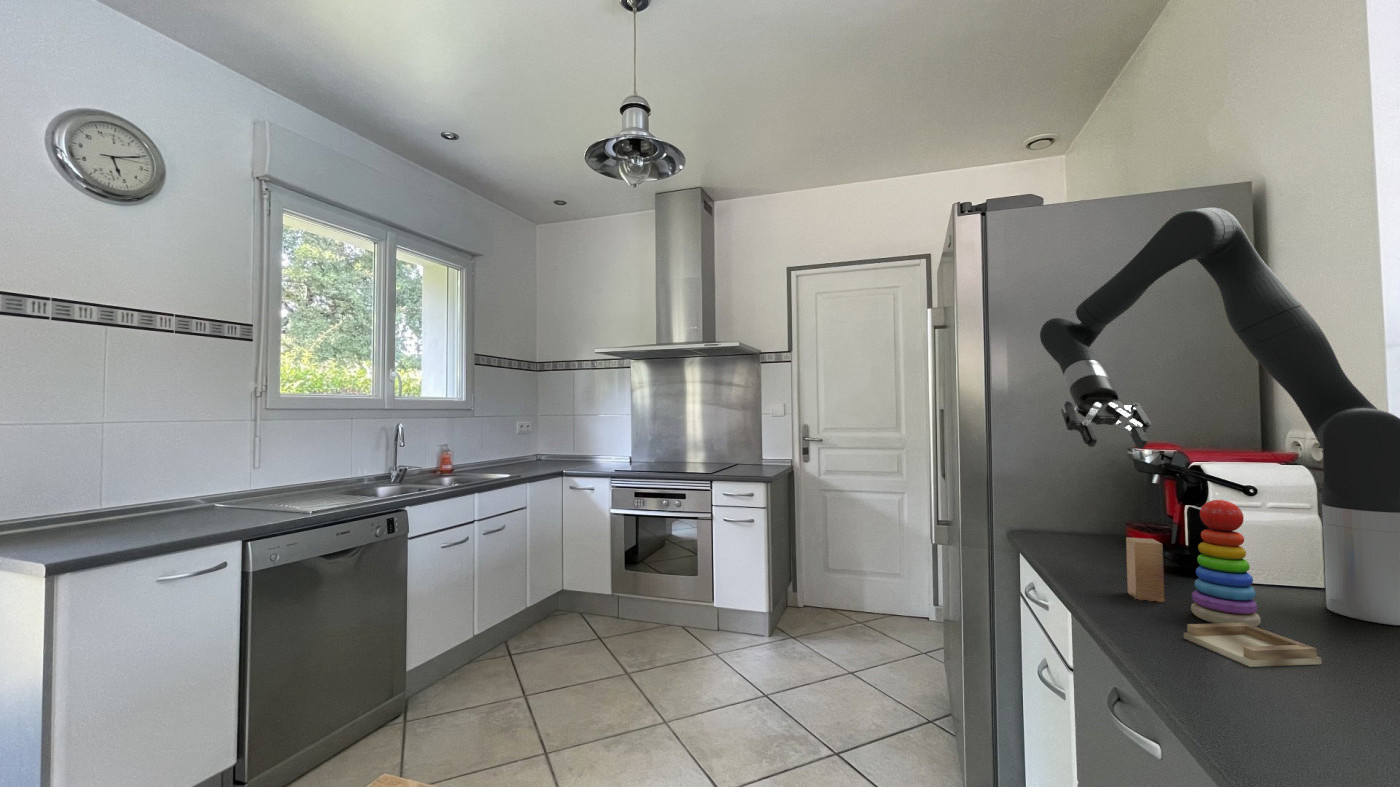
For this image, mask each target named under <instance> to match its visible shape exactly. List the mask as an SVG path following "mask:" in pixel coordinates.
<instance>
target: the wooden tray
mask: <svg viewBox="0 0 1400 787" xmlns="http://www.w3.org/2000/svg"><path fill="white" fill-rule="evenodd" d="M1186 625H1187V626H1186V628H1187V631H1186V632H1183V639H1184V640H1187V641H1189V642H1191V643H1193V644H1196V645H1198V646H1201V647H1203V648H1205V649H1207V650H1210V651H1213V652H1215V653H1217V654H1219V655H1222V656H1223V657H1226V658H1229V659H1231V660H1233V661H1235V662H1237V663H1240V664H1242V665H1245V666H1248V667H1250V668H1253V667H1255V668H1256V667H1257V668H1259V667H1281V666H1283V667H1284V666H1287V667H1288V666H1308V665H1314V666H1315V665H1322V657H1320V656H1318V652H1317V650H1318V649H1317V648H1316V647H1313V646H1310V645H1308V644H1305V643H1302V642H1299V641H1296V640H1294V639H1291V638H1288V637H1286V636H1282V635H1280V634H1277V633H1275V632H1271V631H1269V630H1266V629H1263V628H1260V627H1258V626H1256V627H1255V626H1252V625H1250V624H1247V623H1196V624H1195V623H1188V624H1186Z"/></svg>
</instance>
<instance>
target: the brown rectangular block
mask: <svg viewBox="0 0 1400 787" xmlns="http://www.w3.org/2000/svg"><path fill="white" fill-rule="evenodd" d="M1125 542H1126V544H1125V546H1126V547H1125V548H1126V571H1127V572H1126V578H1127V594H1128V595H1129V596H1131V597H1132V596H1133V597H1134V598H1133V597H1132V598H1133V599H1134V600H1136V599H1138V600H1137V601H1143V600H1148V601H1147V602H1153V601H1157V602H1156V603H1163V602H1165V580H1164V579H1165V577H1164V575H1165V574H1164V548H1163V543H1161V542H1160V541H1158V540H1156V539H1154V538H1141V537H1140V538H1139V537H1125Z"/></svg>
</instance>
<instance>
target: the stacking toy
mask: <svg viewBox="0 0 1400 787" xmlns="http://www.w3.org/2000/svg"><path fill="white" fill-rule="evenodd" d="M1199 517H1200V520H1201V521H1202V523H1203V524H1204V525H1205V526H1206V527H1207V529H1204V530H1202V531H1201V532H1200V537H1201V539H1202V540H1203V541H1202V542H1200V543H1199V544H1198V545H1197V547H1198V548H1197V549H1198V551H1199V553H1200V554H1199V555H1198V556H1197V559H1196V560H1197V563H1198V565H1199V566H1198V567H1197V568H1196V569H1195V574H1196V576H1197V577H1198V578H1197V579H1195V580H1194V588H1196V590H1194V591H1193V592H1192V593H1191V598H1192V600H1193V603H1191V606H1190V610H1191V612H1192V614H1193V615H1194V616H1196V617H1197V618H1199V619H1201V620H1203V621H1206V622H1209V623H1211V624H1215V623H1247V624H1250V625H1252V626H1255V627H1258V626H1259V625H1261V621H1262V619H1261V616H1260V615H1259V614H1258V613H1257V610H1258V605H1257V603H1256V601H1255V600H1254V598H1255V597H1256V590H1255V589H1254V587H1253V586H1252V584H1253V582H1254V579H1253V576H1252V575H1251V574H1250V573H1249V572H1248V571H1249V570H1250V567H1251V566H1250V563H1249V562H1248V561H1247V560H1246V559H1244V558H1246V556H1247V552H1246V549H1245V548H1244V547H1243V546H1241V545H1242V544H1244V542H1245V537H1244V535H1243V534H1242V533H1240V532H1238V531H1236V530H1238V529H1239V528H1240V527H1242V526H1243V523H1244V513H1243V511H1242V510H1241V509H1240V507H1238V506H1237V505H1236V504H1235V503H1232V502H1231V501H1227V500H1225V499H1215V500H1209V501H1208V502H1206V503H1204V504H1203V505H1202V506H1201V507H1200V510H1199Z"/></svg>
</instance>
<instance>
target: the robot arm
mask: <svg viewBox="0 0 1400 787" xmlns="http://www.w3.org/2000/svg"><path fill="white" fill-rule="evenodd" d="M1190 260H1196V261H1197V262H1198V263H1199V264H1200V265H1201V266H1202V267H1203V269H1204V270H1206V272H1207V273H1208V274H1209V276H1211V277H1212V279H1213V280H1214V282H1215V283H1216V285H1217V287H1218V289H1219V292H1220V295H1221V297H1222V302H1223V306H1224V310H1225V314H1226V318H1227V321H1228V323H1229V325H1230V326H1231V328H1232V331H1233V332H1234V333H1235V334H1236V335H1237V337H1238V338H1239V340H1240V341H1241V342H1242V343H1243V345H1244V346H1245V348H1246V349H1247V350H1248V352H1250V354H1251V355H1252V356H1253V357H1254V358H1255V359H1256V361H1257V362H1258V363H1259V364H1260V365H1261V366H1262V367H1263V368H1264V370H1266V372H1267V373H1268V374H1269V375H1270V376H1271V377H1272V378H1273V379H1274V381H1276V382H1277V383H1278V384H1279V385H1280V386H1281V387H1282V388H1283V389H1284V391H1286V392H1287V393H1288V395H1289V396H1290V397H1291V399H1292V400H1293V402H1294V403H1295V404H1296V406H1297V407H1298V410H1299V411H1300V412H1301V414H1302V415H1303V418H1304V419H1305V420H1306V423H1307V424H1308V426H1309V427H1310V430H1311V431H1312V432H1313V435H1314V436H1315V439H1316V441H1317V442H1318V445H1319V446H1320V447H1321V449H1322V460H1323V461H1322V463H1323V468H1322V469H1323V480H1322V481H1323V482H1322V486H1321V503H1322V504H1321V510H1322V511H1321V512H1322V513H1321V514H1322V530H1323V553H1324V554H1323V556H1324V558H1323V559H1324V576H1325V577H1324V579H1325V599H1326V601H1325V604H1326V609H1327V610H1329V611H1331V612H1333V613H1335V614H1338V615H1342V616H1345V617H1349V618H1351V619H1357V620H1361V621H1365V622H1371V623H1377V624H1382V625H1383V624H1384V625H1389V626H1390V625H1391V626H1400V418H1399V417H1398V416H1397V415H1395V414H1393V413H1391V412H1388V411H1385V410H1381V409H1378V408H1377V407H1376V406H1375V405H1374V403H1373V404H1372V402H1370V400H1369V399H1368V398H1367V397H1366V396H1365V395H1364V394H1363V393H1362V392H1361V390H1359V389H1358V388H1357V387H1356V386H1355V385H1354V384H1353V382H1352V381H1351V380H1350V379H1349V378H1348V376H1347V375H1346V373H1345V372H1344V370H1343V368H1342V366H1341V364H1340V362H1339V360H1338V358H1337V356H1336V354H1335V352H1334V349H1333V347H1332V345H1331V344H1330V342H1329V339H1328V338H1327V337H1326V335H1325V333H1324V332H1323V330H1322V329H1321V327H1320V325H1319V324H1318V323H1317V322H1316V320H1315V319H1314V318H1313V316H1311V314H1310V313H1309V312H1308V310H1307V309H1306V308H1305V307H1304V306H1303V305H1302V304H1301V302H1300V301H1299V300H1298V299H1297V298H1296V297H1295V295H1294V294H1292V292H1291V291H1290V290H1289V289H1288V288H1287V286H1286V285H1285V283H1283V282H1282V280H1281V279H1280V278H1279V277H1278V275H1276V274H1275V272H1274V271H1272V269H1271V268H1270V267H1269V266H1268V265H1267V263H1265V261H1264V260H1263V259H1262V257H1261V255H1260V254H1259V253H1258V252H1257V250H1256V248H1255V246H1254V245H1253V244H1252V242H1251V240H1250V239H1249V237H1248V235H1247V233H1246V232H1245V230H1244V229H1243V227H1242V226H1241V224H1240V222H1239V221H1238V219H1237V218H1236V217H1235V215H1234V214H1232V213H1230V212H1229V211H1228V210H1225V209H1222V208H1220V207H1219V208H1218V207H1204V208H1202V207H1201V208H1192V209H1187V210H1184V211H1181V212H1179V213H1176V214H1175V215H1173V216H1172V217H1171V218H1169V219H1168V220H1167V221H1166V222H1165V223H1164V224H1163V225H1162V226H1161V227H1160V229H1159V230H1158V231H1156V233H1155V234H1154V235H1153V236H1152V237H1151V238H1150V239H1149V241H1148V242H1147V243H1146V244H1145V245H1144V246H1143V248H1142V249H1141V250H1140V251H1138V253H1137V254H1136V255H1135V256H1134V257H1133V258H1132V259H1131V260H1130V261H1128V263H1127V264H1126V265H1124V267H1123V268H1122V269H1121V270H1120V271H1118V272H1117V273H1116V274H1115V275H1114V276H1112V277H1111V278H1110V279H1109V280H1108V281H1107V282H1106V283H1104V284H1103V285H1101V286H1100V287H1099V288H1097V289H1096V291H1095V290H1094V292H1093V293H1092V294H1090V295H1089V296H1087V297H1086V298H1085V299H1084V300H1083V301H1082V302H1081V303H1080V304H1079V305H1078V306H1077V308H1076V310H1075V315H1076V317H1077V319H1078V321H1080V323H1078V322H1075V321H1071V320H1068V319H1064V318H1061V317H1054V318H1051V319H1048V320H1047V321H1045V323H1044V324H1043V325H1042V327H1041V328H1040V332H1039V339H1040V342H1041V344H1042V346H1043V348H1044V349H1045V351H1046V352H1047V353H1048V354H1049V355H1050V356H1051V358H1052V359H1053V360H1054V361H1055V362H1056V363H1057V364H1058V365H1059V367H1060V370H1061V372H1062V375H1063V377H1064V380H1065V383H1066V384H1065V385H1066V387H1067V389H1068V392H1069V394H1070V396H1071V398H1072V400H1073V402H1074V404H1073V402H1071V401H1068V400H1067V401H1065V403H1064V404H1063V406H1062V408H1061V414H1062V416H1063V421H1064V423H1065V427H1066V429H1067V431H1077V432H1078V433H1079V434H1080V437H1081V438H1082V440H1083V443H1084V444H1085V445H1087V446H1088V447H1090V448H1094V447H1095V445H1096V444H1097V442H1098V441H1097V440H1098V439H1097V437H1096V435H1095V433H1094V431H1093V429H1092V426H1090V425H1091V423H1093V424H1095V425H1098V426H1099V425H1107V426H1113V425H1114V426H1115V427H1116V428H1118V429H1120V430H1122V429H1123V430H1125V431H1126V432H1128V433H1130V437H1131V438H1132V441H1133V442H1134V445H1135V447H1136V448H1137V449H1140V450H1141V449H1143V448H1144V447H1146V445H1147V443H1148V441H1149V439H1148V437H1147V436H1146V434H1145V433H1146V432H1147V431H1148V429H1149V428H1150V426H1151V425H1152V421H1151V420H1150V419H1149V417H1148V415H1147V413H1146V412H1145V411H1144V408H1143V407H1142V406H1141V404H1140V403H1139V402H1133V403H1132V404H1131V405H1124V404H1123V403H1122V402H1120V400H1119V395H1118V393H1117V390H1116V389H1115V387H1114V385H1113V382H1112V381H1111V379H1110V377H1109V375H1108V373H1107V371H1106V370H1105V368H1103V365H1101V363H1100V360H1099V359H1098V356H1097V355H1096V353H1095V352H1094V351H1093V349H1091V346H1092V345H1093V344H1094V343H1095V341H1096V339H1097V338H1098V337H1099V335H1100V334H1101V333H1102V332H1103V330H1104V329H1105V328H1106V326H1107V325H1109V324H1110V323H1112V322H1113V321H1115V319H1117V318H1118V317H1120V316H1121V315H1123V314H1124V313H1125V312H1127V311H1128V310H1129V309H1130V308H1131V307H1133V306H1134V304H1135V303H1137V301H1138V300H1139V299H1140V298H1141V296H1143V294H1144V293H1145V292H1146V291H1147V290H1148V289H1149V288H1150V286H1152V285H1153V284H1154V283H1155V282H1156V281H1157V280H1159V279H1160V278H1161V277H1163V276H1165V275H1166V274H1167V273H1169V272H1171V271H1172V270H1173V269H1176V268H1178V267H1179V266H1181V265H1183V264H1185V263H1186V262H1187V263H1188V262H1189V261H1190ZM1076 412H1077V413H1078V414H1079V415H1081V416H1082V417H1084V418H1083V420H1082V421H1078V420H1079V419H1078V418H1077V414H1076ZM1121 417H1122V421H1120V418H1121Z"/></svg>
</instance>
